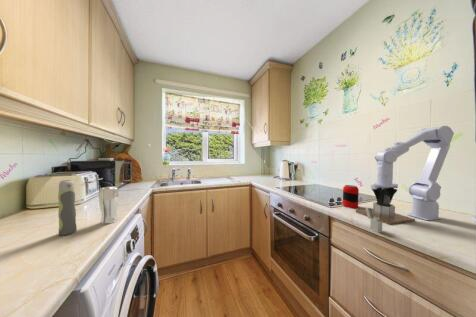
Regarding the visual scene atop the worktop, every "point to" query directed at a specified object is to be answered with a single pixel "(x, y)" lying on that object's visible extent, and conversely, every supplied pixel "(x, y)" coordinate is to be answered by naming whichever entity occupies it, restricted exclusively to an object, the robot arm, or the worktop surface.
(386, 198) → the grey short cylinder
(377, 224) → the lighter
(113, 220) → the beer glass
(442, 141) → the robot arm
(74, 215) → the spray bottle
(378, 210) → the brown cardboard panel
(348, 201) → the soda can
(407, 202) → the worktop surface
